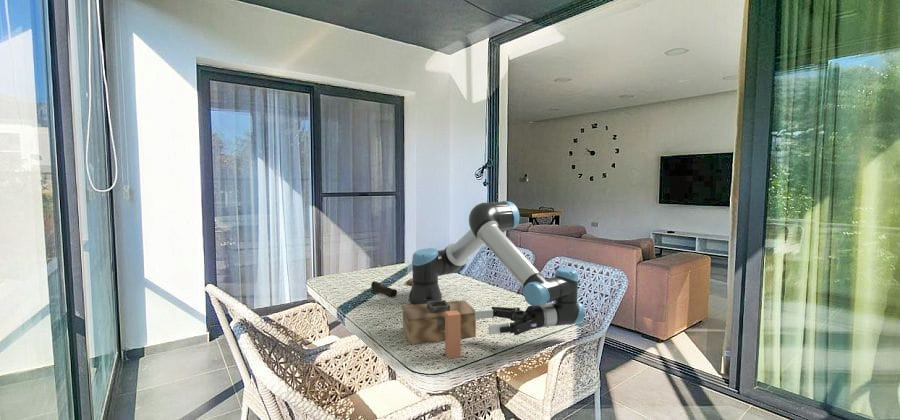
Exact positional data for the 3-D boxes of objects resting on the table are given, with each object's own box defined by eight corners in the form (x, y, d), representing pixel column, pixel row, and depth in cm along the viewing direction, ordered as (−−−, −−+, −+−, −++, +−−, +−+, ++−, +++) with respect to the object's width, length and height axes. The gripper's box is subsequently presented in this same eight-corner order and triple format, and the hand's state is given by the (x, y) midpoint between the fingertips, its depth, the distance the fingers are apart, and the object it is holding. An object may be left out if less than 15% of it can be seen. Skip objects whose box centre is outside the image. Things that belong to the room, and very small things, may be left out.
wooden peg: (448, 358, 129) (448, 315, 128) (445, 353, 133) (445, 311, 132) (460, 356, 130) (460, 314, 129) (457, 351, 134) (456, 310, 133)
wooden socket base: (408, 345, 139) (408, 313, 138) (401, 329, 154) (401, 300, 153) (477, 337, 146) (477, 307, 145) (464, 322, 160) (464, 295, 159)
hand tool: (397, 296, 195) (397, 287, 195) (390, 298, 192) (390, 288, 192) (376, 288, 209) (376, 279, 209) (369, 290, 206) (369, 281, 206)
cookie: (409, 287, 210) (409, 281, 210) (404, 282, 220) (404, 277, 220) (428, 285, 214) (428, 280, 213) (422, 280, 224) (422, 275, 223)
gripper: (559, 341, 128) (495, 349, 122) (524, 314, 152) (469, 320, 146) (559, 318, 127) (496, 324, 121) (524, 294, 151) (469, 299, 145)
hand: (481, 322), depth 134 cm, fingers open, 13 cm apart
